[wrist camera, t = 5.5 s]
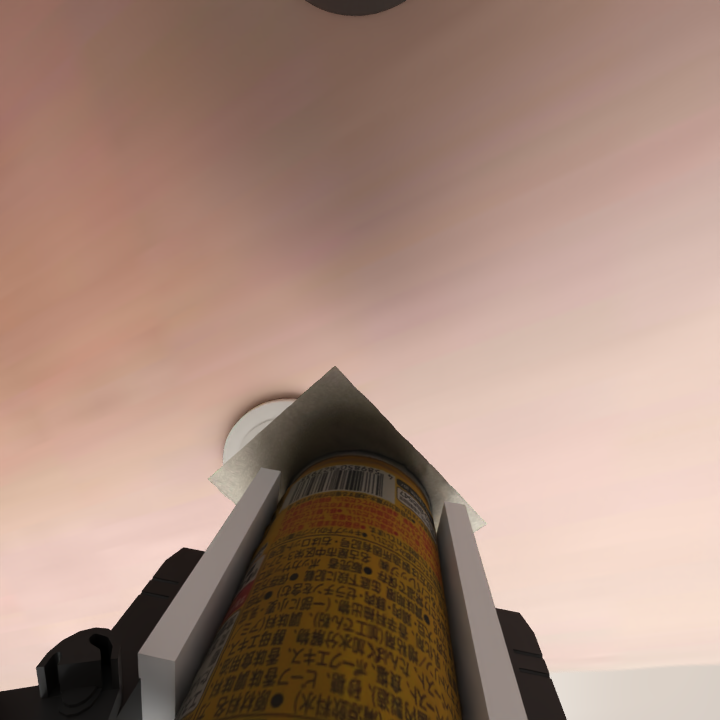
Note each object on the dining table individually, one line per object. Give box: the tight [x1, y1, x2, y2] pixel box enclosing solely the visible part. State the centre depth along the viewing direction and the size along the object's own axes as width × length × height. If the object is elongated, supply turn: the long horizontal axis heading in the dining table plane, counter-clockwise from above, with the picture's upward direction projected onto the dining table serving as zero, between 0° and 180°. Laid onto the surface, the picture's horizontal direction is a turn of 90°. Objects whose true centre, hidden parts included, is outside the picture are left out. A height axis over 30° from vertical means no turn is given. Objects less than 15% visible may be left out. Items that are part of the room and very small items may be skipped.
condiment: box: [174, 366, 487, 720], centre depth 8 cm, size 7×8×12 cm
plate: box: [223, 398, 297, 465], centre depth 35 cm, size 14×14×1 cm
